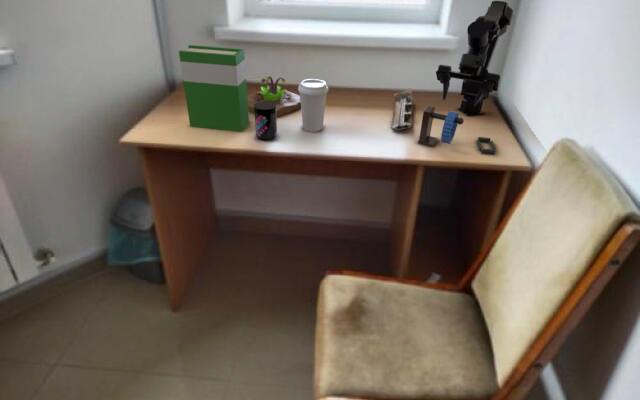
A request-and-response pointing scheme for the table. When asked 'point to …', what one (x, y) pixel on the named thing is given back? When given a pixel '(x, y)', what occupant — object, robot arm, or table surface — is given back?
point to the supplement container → (265, 120)
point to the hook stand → (427, 124)
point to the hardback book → (215, 87)
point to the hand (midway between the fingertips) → (458, 102)
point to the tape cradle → (486, 140)
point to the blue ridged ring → (449, 128)
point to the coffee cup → (313, 103)
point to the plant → (275, 97)
